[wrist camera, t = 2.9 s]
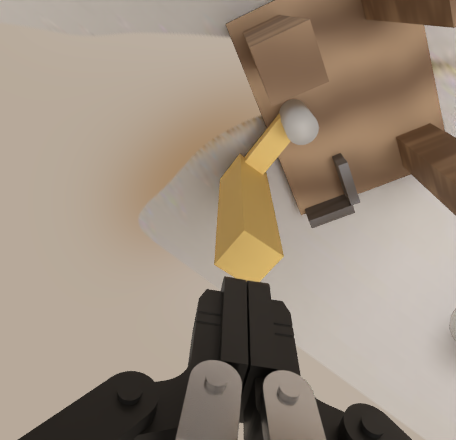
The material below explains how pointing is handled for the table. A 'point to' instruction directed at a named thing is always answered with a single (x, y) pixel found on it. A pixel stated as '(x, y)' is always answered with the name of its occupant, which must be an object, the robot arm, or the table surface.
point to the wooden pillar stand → (352, 95)
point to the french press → (453, 324)
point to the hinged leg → (257, 198)
